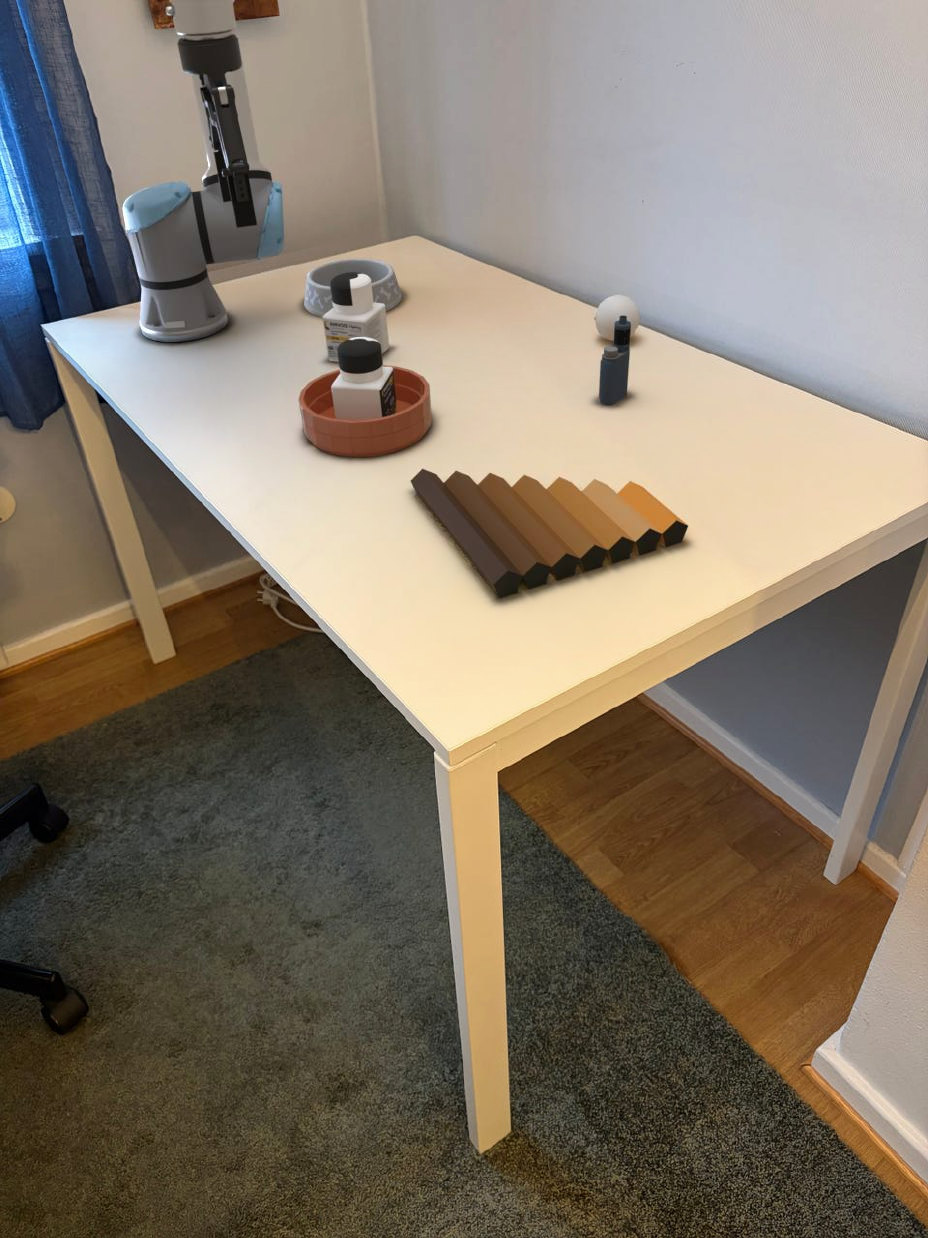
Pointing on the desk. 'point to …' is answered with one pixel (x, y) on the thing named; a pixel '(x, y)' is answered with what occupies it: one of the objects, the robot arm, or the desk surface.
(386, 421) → the bowl
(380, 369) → the medicine bottle
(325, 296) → the dog bowl
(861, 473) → the desk surface
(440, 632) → the desk surface
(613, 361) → the vaping device
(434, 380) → the desk surface
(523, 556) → the pan flute
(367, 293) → the container
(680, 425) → the desk surface
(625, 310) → the white egg
